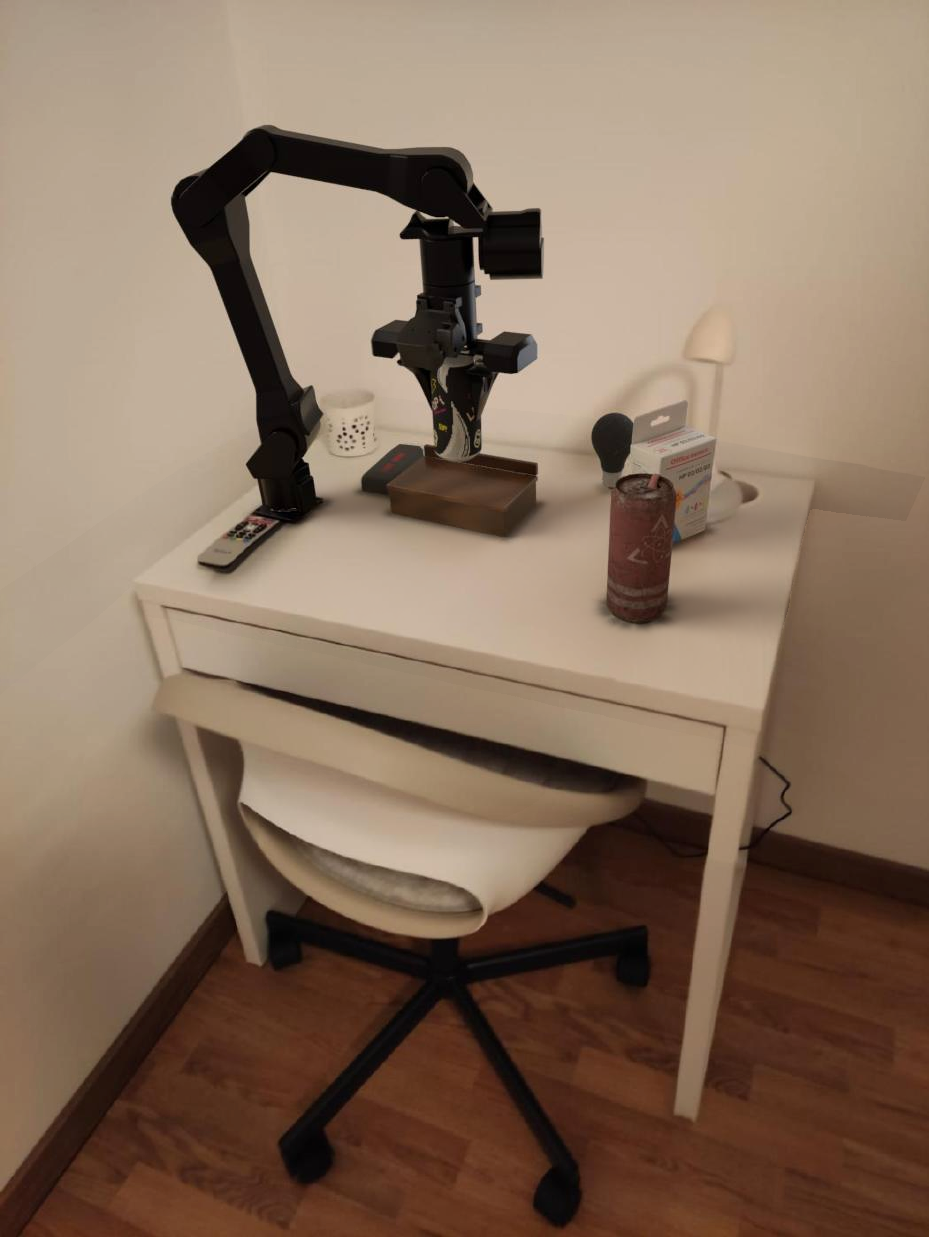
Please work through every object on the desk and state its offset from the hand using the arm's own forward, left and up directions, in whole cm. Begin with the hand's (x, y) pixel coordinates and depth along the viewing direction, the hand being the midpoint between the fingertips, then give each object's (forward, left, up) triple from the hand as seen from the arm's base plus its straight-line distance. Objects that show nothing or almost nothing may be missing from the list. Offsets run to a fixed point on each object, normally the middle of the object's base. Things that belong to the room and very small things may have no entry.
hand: (456, 418), depth 104 cm
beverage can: (0, 0, -5) cm, 5 cm away
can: (+27, -12, -12) cm, 32 cm away
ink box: (+25, +4, -12) cm, 28 cm away
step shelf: (0, 0, -12) cm, 12 cm away
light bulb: (+15, +13, -12) cm, 23 cm away
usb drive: (-13, +6, -12) cm, 19 cm away
